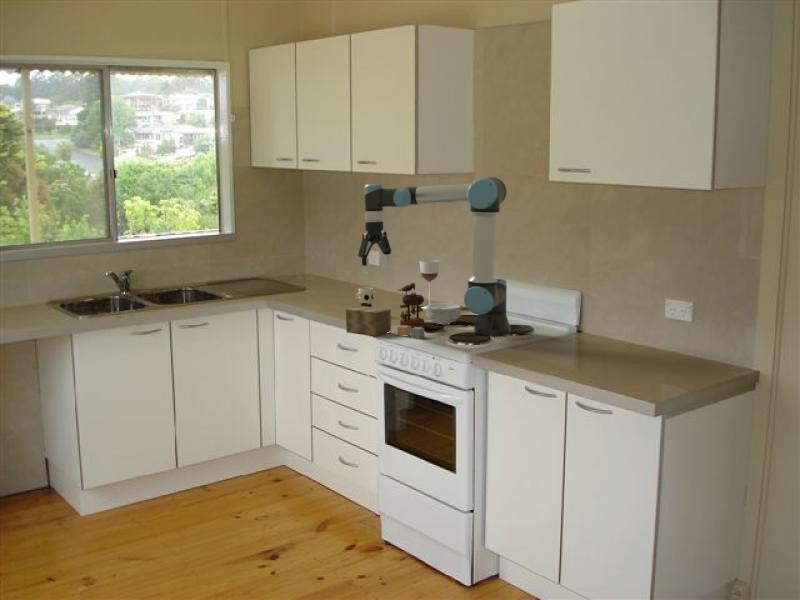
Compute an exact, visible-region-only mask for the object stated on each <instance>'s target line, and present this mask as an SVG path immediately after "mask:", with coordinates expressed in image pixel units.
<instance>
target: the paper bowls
mask: <svg viewBox="0 0 800 600" xmlns="http://www.w3.org/2000/svg"><path fill="white" fill-rule="evenodd" d="M426 306H427V307H426V308H427V309H426V310H425V311H426V312H425V313H426V315H425V316H426V317H427V318H430V321H431V323H432V322H436V323H441V324H448V323H451V322H453V321H455V322H456V321H457V319H458V318H459V319H460V318H461V312H462V311H461V305H459V304H455V303H443V302H442V303H441V302H440V303H439V302H438V303H431V304H429V303H428V304H427V305H426ZM448 325H449V324H448Z"/></svg>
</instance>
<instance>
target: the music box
mask: <svg viewBox="0 0 800 600" xmlns="http://www.w3.org/2000/svg"><path fill="white" fill-rule="evenodd" d="M412 290H413V291H415V292H413V291H412ZM397 291H399V292H401V291H402V293H401V295H402V298H401V299H402V300H401V301H402V304H401V305H399V308H400V309H405V308H406V310H401V314H400V318H401V319H400V321H399V326H402V325H406V326H411V327H412V326H419V325H423V324H424V325H425V319H423V318H422V317H420V313H419V312H423V308H421V307H424V305H422V304H423V303H424V301H425V300H424V299H425V298H424V296H423V295H422V294H417V293H416V284H415V283H414V282H412V283H410V284H406V285H405V286H403V287H402V288H398V289H397ZM410 291H412V292H410ZM404 292H405V294H404ZM408 292H410V293H409V294H408ZM415 314H416V317H414V316H413V317H412V315H415Z"/></svg>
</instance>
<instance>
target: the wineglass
mask: <svg viewBox="0 0 800 600" xmlns="http://www.w3.org/2000/svg"><path fill="white" fill-rule="evenodd" d="M419 270H420V275H421V276H422V278H423V279H424V280H426V281H428V305H429V304H432V303H431V294H432V293H431V290H432V289H431V284H432V281H433V280H434V281H435V279H436V278H438V275H439V270H440V260H437V259H424V260H423V259H421V260H419ZM423 306H424V305H423ZM426 307H427V305H426V306H424V307H421V308H422V310H423V309H424V310H427V308H426Z"/></svg>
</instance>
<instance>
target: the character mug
mask: <svg viewBox="0 0 800 600" xmlns="http://www.w3.org/2000/svg"><path fill="white" fill-rule="evenodd" d="M376 298H377V292H376V291H374V288H373V287H359V288H358V293H356V294H355V300H356V301H358V302H359V303H361V304H360V306H365V307H373V302H374V300H375V299H376Z"/></svg>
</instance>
